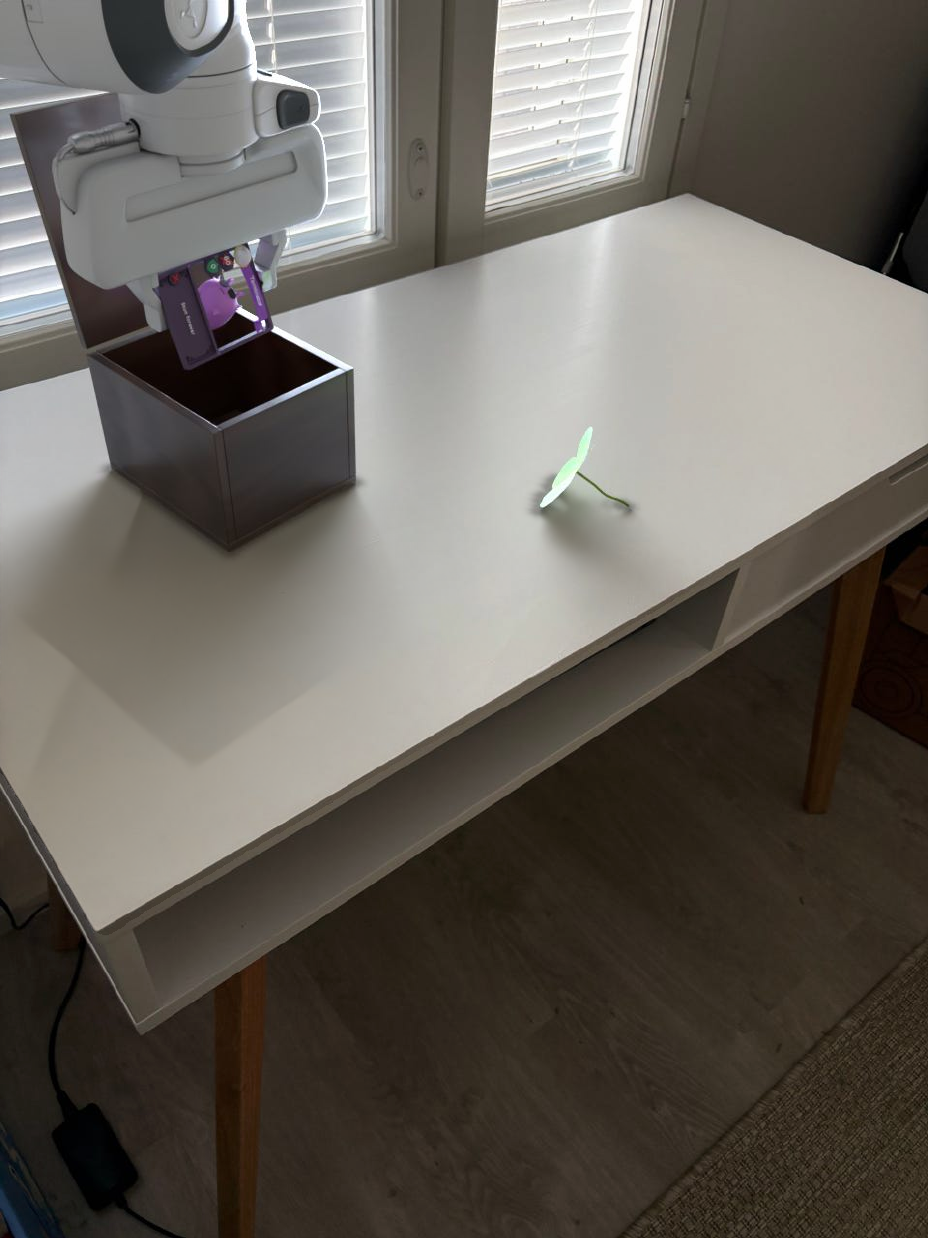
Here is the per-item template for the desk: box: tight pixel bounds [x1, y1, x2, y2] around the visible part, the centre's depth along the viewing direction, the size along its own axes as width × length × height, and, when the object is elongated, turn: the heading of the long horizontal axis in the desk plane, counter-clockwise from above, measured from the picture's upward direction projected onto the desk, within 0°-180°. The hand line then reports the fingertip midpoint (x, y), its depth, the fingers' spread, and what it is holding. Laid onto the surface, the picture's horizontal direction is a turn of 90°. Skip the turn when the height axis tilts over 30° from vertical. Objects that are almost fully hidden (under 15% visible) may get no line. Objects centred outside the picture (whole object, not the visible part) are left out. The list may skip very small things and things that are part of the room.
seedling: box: [539, 426, 630, 508], centre depth 85 cm, size 7×8×7 cm
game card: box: [154, 242, 275, 370], centre depth 75 cm, size 7×5×9 cm
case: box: [85, 307, 357, 554], centre depth 82 cm, size 16×14×11 cm
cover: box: [9, 92, 225, 350], centre depth 77 cm, size 16×14×1 cm
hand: (215, 306), depth 75 cm, fingers closed on game card, 8 cm apart
